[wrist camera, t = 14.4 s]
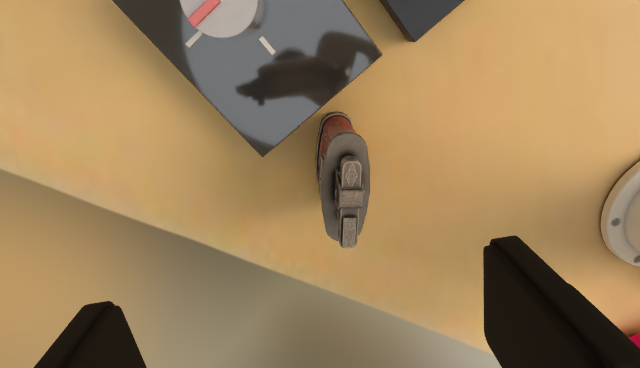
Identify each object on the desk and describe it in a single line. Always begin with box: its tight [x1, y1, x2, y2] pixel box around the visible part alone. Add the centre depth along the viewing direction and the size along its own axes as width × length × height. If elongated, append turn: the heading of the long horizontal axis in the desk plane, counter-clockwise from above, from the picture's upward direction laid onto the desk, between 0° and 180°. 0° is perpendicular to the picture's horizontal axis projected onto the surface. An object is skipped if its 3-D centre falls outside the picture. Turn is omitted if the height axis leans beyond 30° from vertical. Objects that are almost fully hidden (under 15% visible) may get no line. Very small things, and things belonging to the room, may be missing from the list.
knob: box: [180, 0, 264, 38], centre depth 24 cm, size 4×4×5 cm
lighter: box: [315, 112, 370, 248], centre depth 29 cm, size 8×3×10 cm, turn 179°
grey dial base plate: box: [112, 0, 382, 157], centre depth 28 cm, size 15×12×3 cm
